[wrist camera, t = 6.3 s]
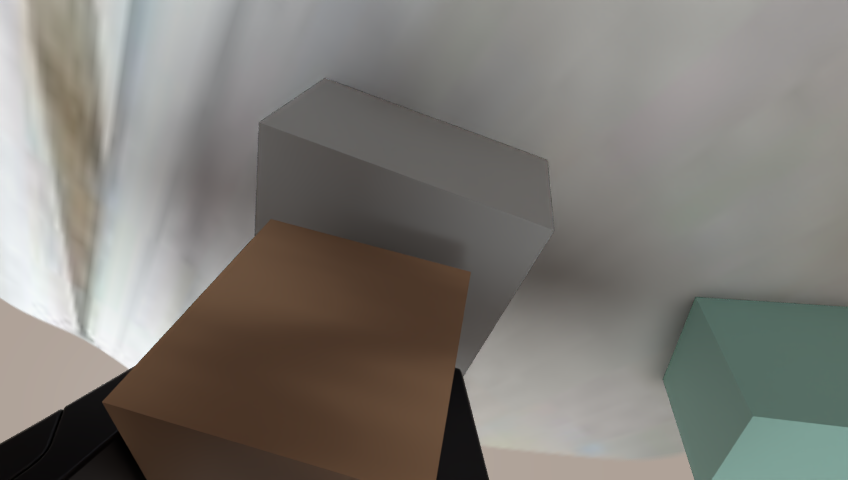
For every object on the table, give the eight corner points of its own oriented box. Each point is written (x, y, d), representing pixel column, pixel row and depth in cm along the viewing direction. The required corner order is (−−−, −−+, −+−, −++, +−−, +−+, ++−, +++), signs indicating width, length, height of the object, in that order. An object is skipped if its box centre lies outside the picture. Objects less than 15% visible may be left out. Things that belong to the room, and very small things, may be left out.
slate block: (547, 156, 12) (554, 230, 9) (467, 306, 17) (453, 392, 13) (328, 75, 12) (258, 122, 9) (304, 247, 16) (251, 319, 13)
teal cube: (852, 305, 13) (975, 442, 9) (792, 391, 16) (871, 524, 12) (694, 295, 14) (752, 416, 10) (662, 377, 17) (699, 497, 13)
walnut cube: (470, 272, 9) (432, 501, 5) (432, 389, 11) (390, 592, 8) (271, 218, 9) (101, 401, 5) (280, 346, 12) (172, 523, 8)
